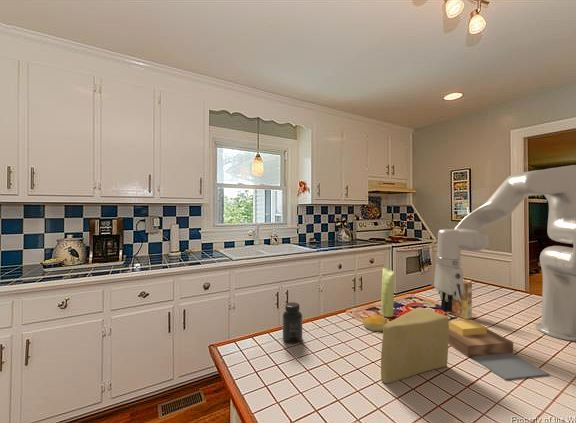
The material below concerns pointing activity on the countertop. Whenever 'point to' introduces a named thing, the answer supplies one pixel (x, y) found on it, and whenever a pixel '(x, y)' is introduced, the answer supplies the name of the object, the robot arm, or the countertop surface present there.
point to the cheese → (414, 344)
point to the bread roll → (374, 323)
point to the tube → (387, 293)
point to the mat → (509, 366)
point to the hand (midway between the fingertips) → (446, 310)
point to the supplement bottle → (292, 323)
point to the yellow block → (467, 327)
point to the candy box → (463, 302)
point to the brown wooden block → (480, 343)
